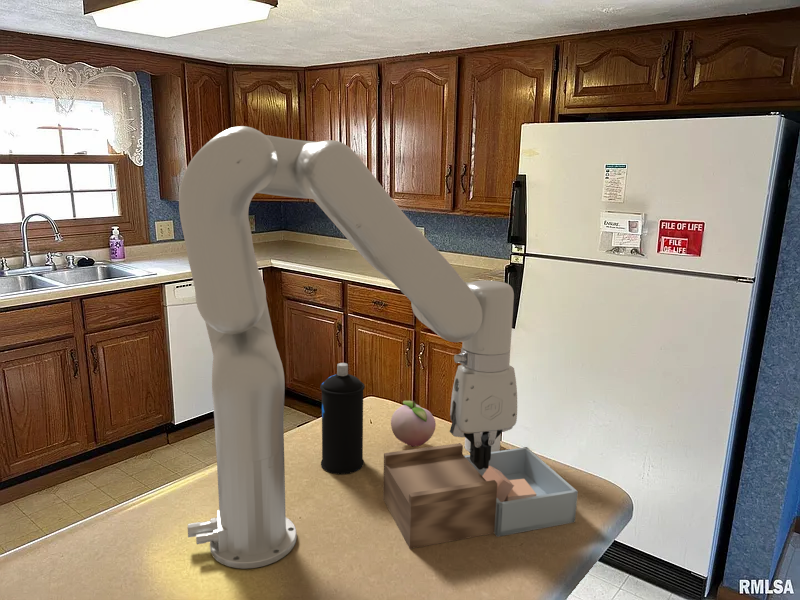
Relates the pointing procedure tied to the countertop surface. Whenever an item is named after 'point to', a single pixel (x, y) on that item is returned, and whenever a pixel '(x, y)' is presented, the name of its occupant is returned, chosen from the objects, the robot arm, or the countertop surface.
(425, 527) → the brown wooden box
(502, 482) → the tile
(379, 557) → the countertop surface
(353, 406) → the aerosol can
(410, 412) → the decorative fruit
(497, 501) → the bin
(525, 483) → the tile
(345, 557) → the countertop surface
